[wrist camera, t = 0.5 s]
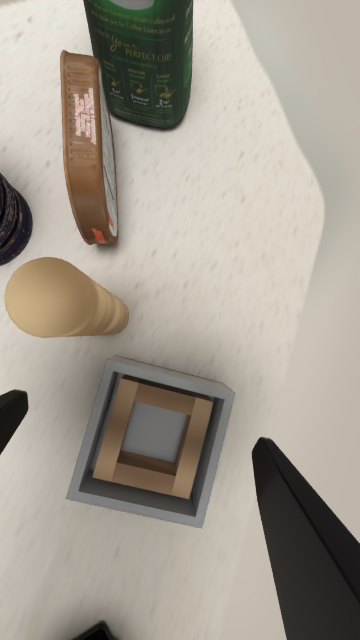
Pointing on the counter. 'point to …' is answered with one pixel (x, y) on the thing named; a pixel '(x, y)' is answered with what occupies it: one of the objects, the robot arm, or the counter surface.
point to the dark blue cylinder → (13, 222)
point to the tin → (88, 149)
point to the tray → (151, 445)
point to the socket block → (148, 469)
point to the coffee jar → (144, 57)
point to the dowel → (61, 301)
